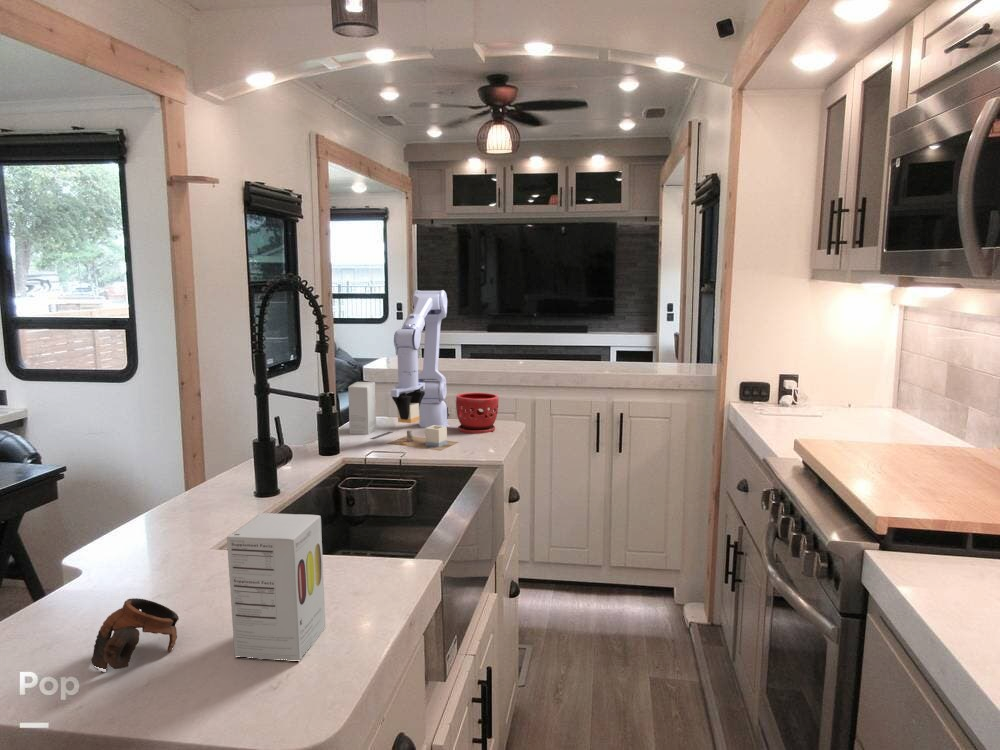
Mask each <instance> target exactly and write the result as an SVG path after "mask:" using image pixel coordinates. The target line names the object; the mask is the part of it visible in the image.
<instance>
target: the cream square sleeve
mask: <svg viewBox="0 0 1000 750" xmlns="http://www.w3.org/2000/svg"><path fill="white" fill-rule="evenodd" d="M397 422H398V423H406V424H413V423H415V422H419V403H410V405H409V416H408V419H407V420H404V419H401V418H400V414H399V411H398V410H397Z"/></svg>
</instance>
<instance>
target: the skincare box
mask: <svg viewBox="0 0 1000 750" xmlns="http://www.w3.org/2000/svg"><path fill="white" fill-rule="evenodd" d="M347 389H348V420H349V421H348V422H349V425H348V426H349V435H370V434H371V433H373V432H374V431H375V430H377V411H376V410H377V409H376V408H377V405H376V404H377V403H376V382H375V381H356V382H353V383H352V384H350V385H349V386H348V387H347Z"/></svg>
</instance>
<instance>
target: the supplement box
mask: <svg viewBox="0 0 1000 750" xmlns="http://www.w3.org/2000/svg"><path fill="white" fill-rule="evenodd" d="M322 541H323V539H322V517H321V515H318V514H303V513H302V514H301V513H299V514H298V513H297V514H294V513H275V512H274V513H271V512H270V513H268V512H265V513H264V512H260V513H258V514H257V515H256V516H254V517H253V518H252V519H251V520H249V521H248V522H247V523H245V524H243V525H242V526H241V527H240V528H238V529H236V531H234V532H232V533H231V534H229V535H228V536H227V537H226V544H227V545H226V547H227V561H228V562H227V563H228V576H229V588H230V603H231V605H230V606H231V618H232V619H231V620H232V621H231V622H232V635H233V650H234V657H235V656H240V657H251V658H252V657H253V658H261V659H260V660H262V658H263V659H280V660H281V659H283V660H284V659H285V660H286V659H287V660H300V659H301V658H302V656H303V655H304V654H305V652H306V651H307V650H308V649H309V648H310V649H311V647H312V646H313V645H314V643H315V642H316V641H317V639H318V638H319V637H320V636H321V634H322V633H321V632H323V631H324V630H325V629H326V627H325V626H326V607H325V603H326V602H325V585H324V579H325V578H324V563H323V543H322ZM324 628H325V629H324ZM323 629H324V630H323ZM318 636H319V637H318ZM315 640H316V641H315ZM314 641H315V642H314ZM312 644H313V645H312ZM311 645H312V646H311ZM310 646H311V647H310ZM310 649H309V650H310ZM309 650H308V651H309ZM308 651H307V652H308ZM305 655H306V654H305ZM305 655H304V656H305ZM302 659H303V658H302ZM302 659H301V660H302Z"/></svg>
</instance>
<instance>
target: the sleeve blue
mask: <svg viewBox="0 0 1000 750" xmlns="http://www.w3.org/2000/svg"><path fill="white" fill-rule="evenodd" d="M447 429H448V428H447V426H438V425H432V426H430V427H427V428H424V430H425V432H424V433H425V437H424V438H426V446H434V447H441V446H443V445H445V444H447V441H448V430H447Z"/></svg>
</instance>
